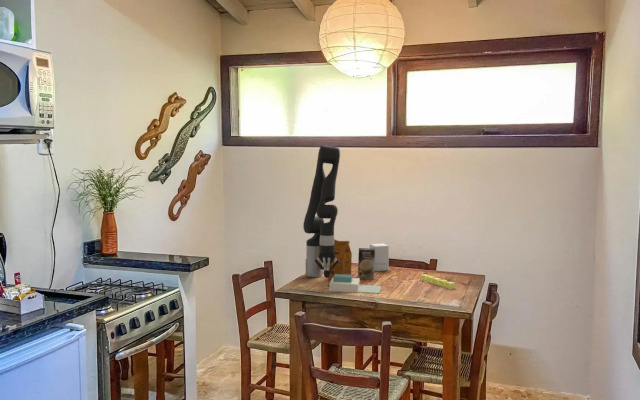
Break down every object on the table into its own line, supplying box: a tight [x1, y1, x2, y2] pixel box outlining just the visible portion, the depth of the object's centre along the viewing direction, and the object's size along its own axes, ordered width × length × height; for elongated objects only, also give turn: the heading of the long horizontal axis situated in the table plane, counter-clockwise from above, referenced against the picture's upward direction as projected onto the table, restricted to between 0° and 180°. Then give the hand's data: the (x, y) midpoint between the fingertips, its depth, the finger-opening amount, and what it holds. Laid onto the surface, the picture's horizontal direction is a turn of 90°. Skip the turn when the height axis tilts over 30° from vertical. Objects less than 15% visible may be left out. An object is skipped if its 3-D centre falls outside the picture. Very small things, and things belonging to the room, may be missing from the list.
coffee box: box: [357, 247, 375, 280], centre depth 288 cm, size 9×6×16 cm
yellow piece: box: [420, 273, 456, 290], centre depth 277 cm, size 32×32×3 cm
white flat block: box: [328, 277, 361, 293], centre depth 265 cm, size 14×13×4 cm
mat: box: [357, 284, 382, 295], centre depth 263 cm, size 11×14×1 cm
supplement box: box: [369, 243, 390, 272], centre depth 310 cm, size 9×9×15 cm
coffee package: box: [327, 238, 353, 281], centre depth 282 cm, size 10×12×22 cm
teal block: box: [333, 274, 353, 282], centre depth 265 cm, size 9×6×2 cm, turn 81°
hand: (326, 277), depth 266 cm, fingers closed
